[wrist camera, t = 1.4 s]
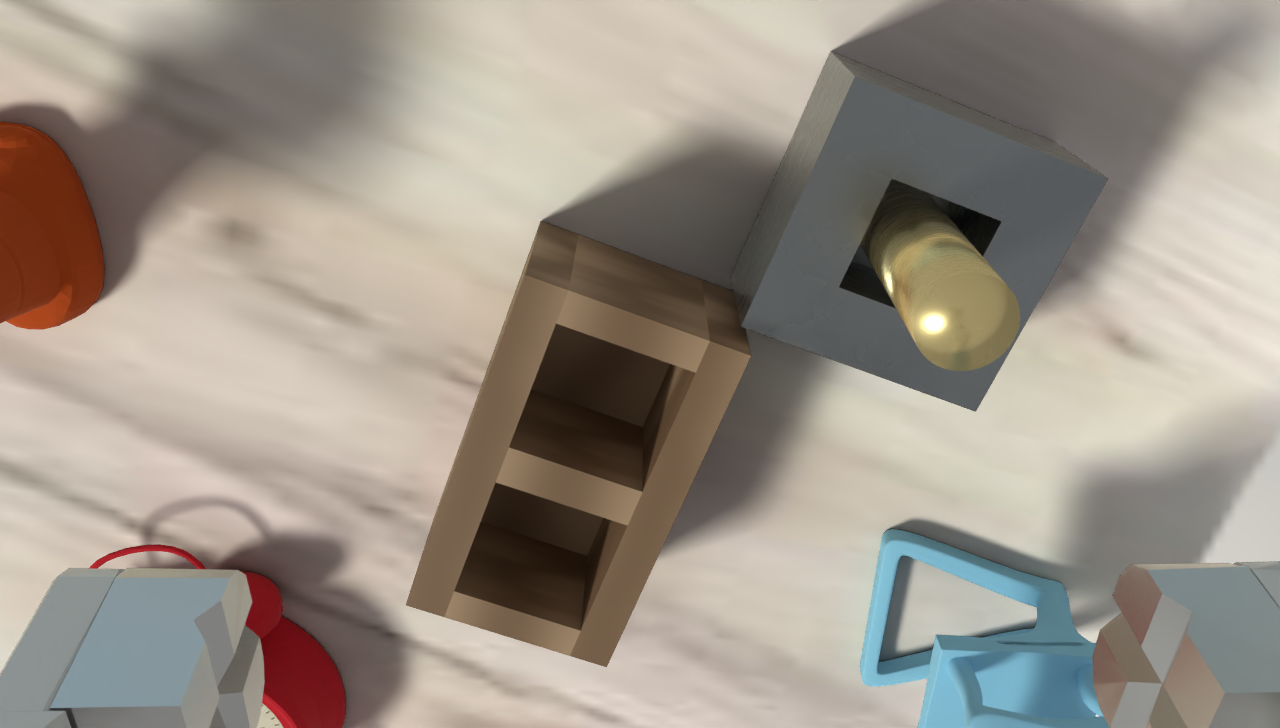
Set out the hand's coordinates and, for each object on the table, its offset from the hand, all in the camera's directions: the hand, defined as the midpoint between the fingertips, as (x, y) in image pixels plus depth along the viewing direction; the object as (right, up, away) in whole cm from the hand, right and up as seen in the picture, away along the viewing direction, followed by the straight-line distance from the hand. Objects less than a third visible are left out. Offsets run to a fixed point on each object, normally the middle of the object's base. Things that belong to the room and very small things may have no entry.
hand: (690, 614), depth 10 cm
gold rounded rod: (+9, +8, +30) cm, 32 cm away
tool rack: (-3, 0, +35) cm, 35 cm away
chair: (+14, -8, +39) cm, 42 cm away
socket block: (+9, +8, +31) cm, 33 cm away
